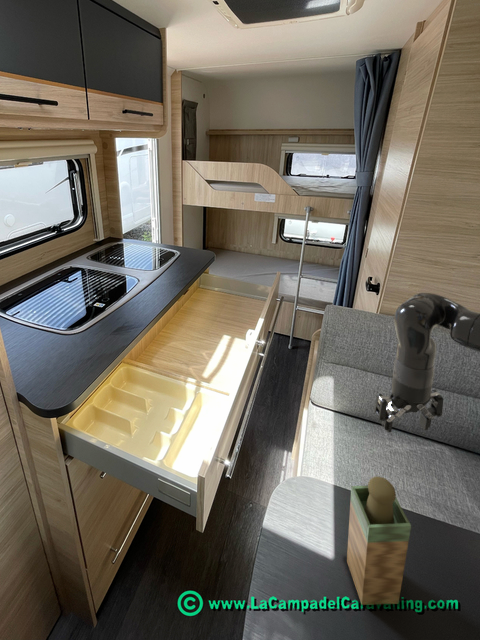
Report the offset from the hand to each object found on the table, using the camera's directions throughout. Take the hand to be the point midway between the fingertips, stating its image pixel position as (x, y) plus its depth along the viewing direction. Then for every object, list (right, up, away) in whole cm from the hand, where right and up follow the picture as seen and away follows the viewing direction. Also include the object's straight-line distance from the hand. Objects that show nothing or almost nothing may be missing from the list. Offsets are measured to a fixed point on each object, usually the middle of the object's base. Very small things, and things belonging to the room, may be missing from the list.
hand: (405, 428), depth 79 cm
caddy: (-7, -41, +3) cm, 42 cm away
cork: (-10, -17, -6) cm, 21 cm away
